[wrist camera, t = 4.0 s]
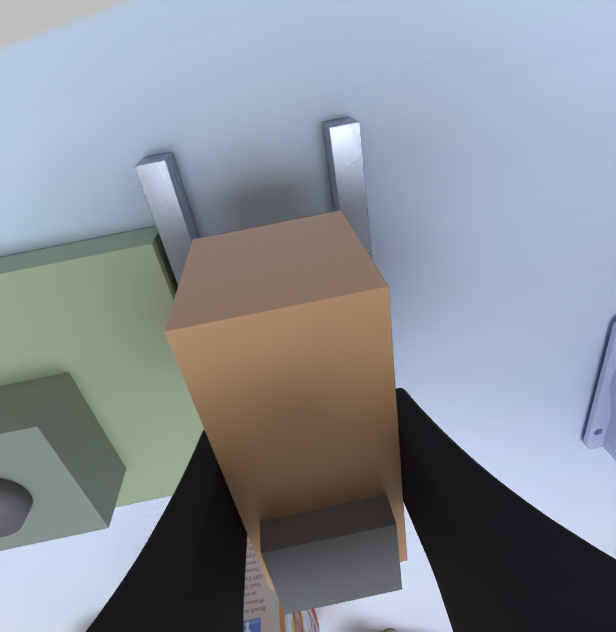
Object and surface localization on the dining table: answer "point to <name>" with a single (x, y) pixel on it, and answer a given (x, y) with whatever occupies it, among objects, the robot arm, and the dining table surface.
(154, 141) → the dining table surface
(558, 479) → the dining table surface
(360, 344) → the orange wooden block
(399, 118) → the dining table surface
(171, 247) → the pair of grey bars
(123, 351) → the deck
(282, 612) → the cracker box
